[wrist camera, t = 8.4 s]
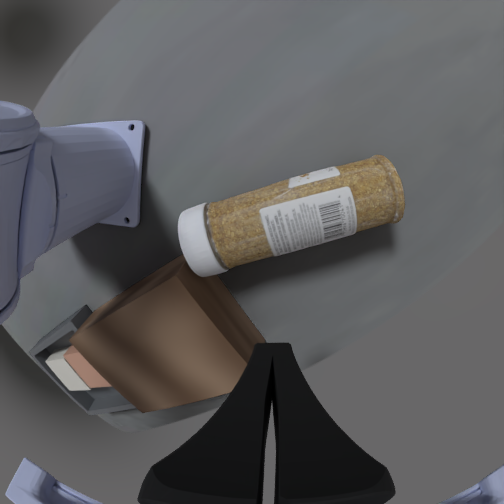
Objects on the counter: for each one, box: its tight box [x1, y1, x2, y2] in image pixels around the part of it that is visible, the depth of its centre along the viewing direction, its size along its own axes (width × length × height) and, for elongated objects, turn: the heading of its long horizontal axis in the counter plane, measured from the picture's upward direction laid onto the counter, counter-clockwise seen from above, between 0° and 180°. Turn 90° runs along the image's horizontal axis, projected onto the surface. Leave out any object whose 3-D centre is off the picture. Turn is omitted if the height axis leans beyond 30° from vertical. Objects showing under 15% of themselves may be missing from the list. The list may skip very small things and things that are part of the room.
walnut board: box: [69, 254, 265, 413], centre depth 21 cm, size 14×10×5 cm
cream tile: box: [45, 346, 92, 391], centre depth 25 cm, size 5×5×2 cm
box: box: [29, 305, 136, 415], centre depth 25 cm, size 14×12×3 cm
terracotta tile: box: [63, 345, 111, 388], centre depth 24 cm, size 5×5×2 cm
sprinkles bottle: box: [178, 155, 405, 277], centre depth 16 cm, size 5×5×13 cm
